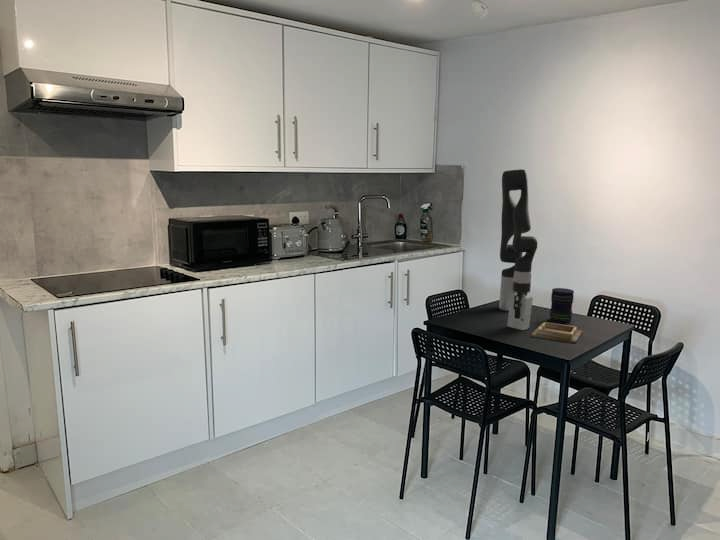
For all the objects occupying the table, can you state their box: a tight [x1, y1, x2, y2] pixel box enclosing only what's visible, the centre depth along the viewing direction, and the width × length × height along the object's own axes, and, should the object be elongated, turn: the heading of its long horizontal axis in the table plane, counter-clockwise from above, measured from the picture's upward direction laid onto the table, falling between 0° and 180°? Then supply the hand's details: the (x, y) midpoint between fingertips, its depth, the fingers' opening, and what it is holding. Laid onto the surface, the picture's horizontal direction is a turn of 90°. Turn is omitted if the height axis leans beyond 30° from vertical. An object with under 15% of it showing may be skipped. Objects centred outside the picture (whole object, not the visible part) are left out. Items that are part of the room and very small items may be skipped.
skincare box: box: [507, 294, 534, 331], centre depth 249 cm, size 8×6×15 cm
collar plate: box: [530, 321, 583, 344], centre depth 240 cm, size 18×18×3 cm
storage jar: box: [549, 287, 575, 324], centre depth 262 cm, size 10×10×15 cm
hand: (519, 316), depth 249 cm, fingers open, 8 cm apart
